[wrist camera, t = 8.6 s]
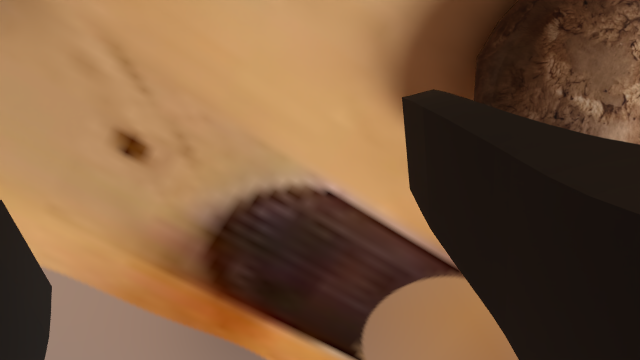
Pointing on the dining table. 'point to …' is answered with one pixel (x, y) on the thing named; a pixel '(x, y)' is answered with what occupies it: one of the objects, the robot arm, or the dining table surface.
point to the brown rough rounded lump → (566, 66)
